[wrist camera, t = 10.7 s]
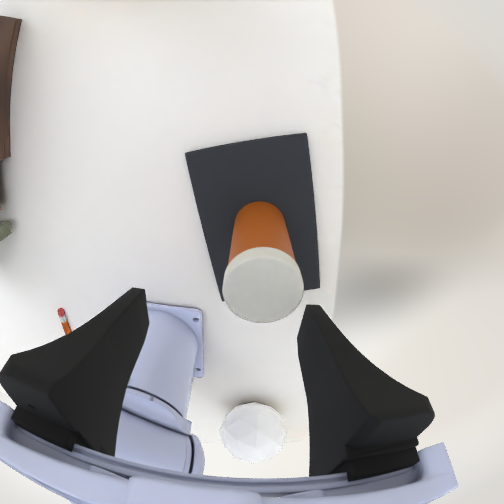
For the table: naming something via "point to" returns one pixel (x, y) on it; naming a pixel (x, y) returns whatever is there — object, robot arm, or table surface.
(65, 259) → the table surface
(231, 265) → the bottle
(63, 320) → the pencil
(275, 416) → the geometric ball
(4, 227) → the drawer
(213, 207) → the mat
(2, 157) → the cabinet
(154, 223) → the table surface
